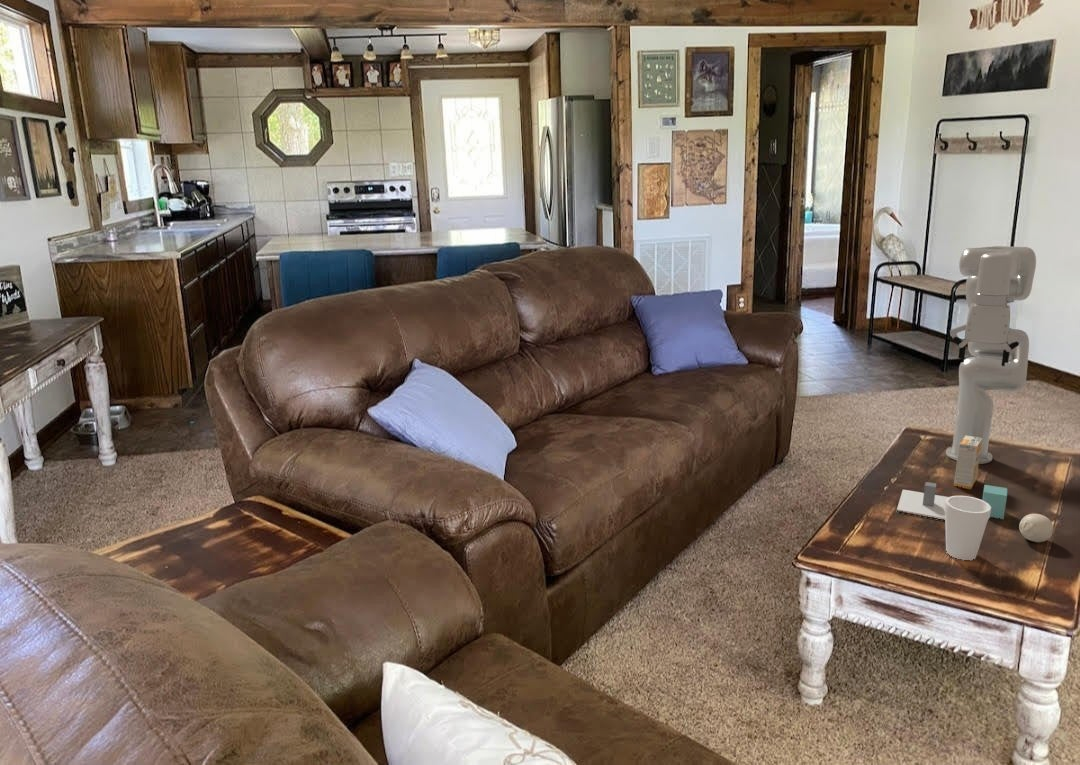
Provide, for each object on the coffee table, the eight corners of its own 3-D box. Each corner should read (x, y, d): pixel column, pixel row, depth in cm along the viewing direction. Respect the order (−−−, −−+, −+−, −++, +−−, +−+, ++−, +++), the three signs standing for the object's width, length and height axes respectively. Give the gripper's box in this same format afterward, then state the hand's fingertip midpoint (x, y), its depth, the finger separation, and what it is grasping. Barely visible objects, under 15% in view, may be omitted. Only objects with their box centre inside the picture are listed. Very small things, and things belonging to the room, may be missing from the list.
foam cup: (944, 540, 193) (951, 492, 190) (987, 551, 188) (994, 501, 184) (934, 556, 186) (941, 506, 183) (978, 568, 181) (985, 516, 177)
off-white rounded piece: (1010, 537, 194) (1013, 512, 192) (1031, 531, 197) (1035, 507, 195) (1035, 549, 188) (1039, 524, 186) (1057, 543, 190) (1061, 518, 189)
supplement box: (972, 490, 220) (978, 446, 217) (953, 486, 223) (958, 443, 219) (977, 480, 227) (983, 437, 223) (958, 476, 229) (964, 434, 226)
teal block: (981, 507, 210) (984, 484, 208) (1003, 511, 207) (1007, 488, 206) (980, 515, 206) (983, 492, 204) (1003, 519, 203) (1007, 495, 201)
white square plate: (902, 492, 220) (904, 470, 219) (958, 501, 214) (961, 479, 212) (896, 512, 209) (899, 489, 207) (955, 522, 202) (958, 499, 200)
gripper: (1029, 300, 206) (1019, 363, 211) (955, 296, 215) (947, 356, 219) (1029, 305, 200) (1019, 370, 205) (953, 300, 208) (945, 363, 213)
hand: (982, 363), depth 212 cm, fingers open, 9 cm apart
